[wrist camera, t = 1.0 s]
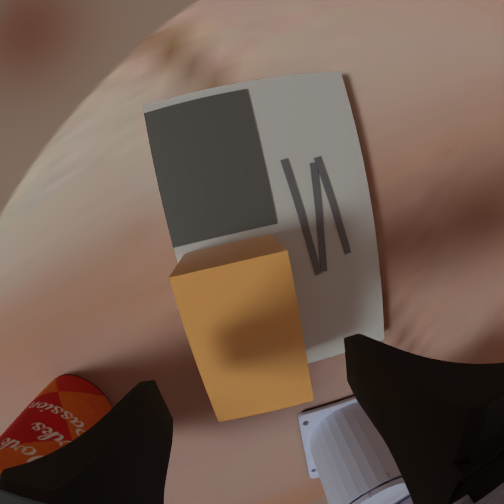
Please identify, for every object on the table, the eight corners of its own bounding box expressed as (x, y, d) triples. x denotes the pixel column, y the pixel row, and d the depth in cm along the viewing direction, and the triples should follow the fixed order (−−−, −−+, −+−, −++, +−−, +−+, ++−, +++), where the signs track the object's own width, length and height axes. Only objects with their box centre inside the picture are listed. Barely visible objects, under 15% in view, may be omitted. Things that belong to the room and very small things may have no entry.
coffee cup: (146, 414, 20) (104, 583, 6) (96, 449, 21) (50, 576, 6) (64, 341, 19) (-52, 480, 4) (26, 389, 19) (-57, 499, 5)
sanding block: (294, 354, 19) (313, 400, 14) (219, 371, 19) (218, 421, 14) (270, 233, 17) (287, 250, 13) (184, 253, 17) (168, 277, 12)
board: (378, 333, 21) (384, 339, 19) (216, 376, 20) (215, 385, 19) (335, 76, 17) (341, 71, 16) (147, 110, 16) (142, 105, 15)
